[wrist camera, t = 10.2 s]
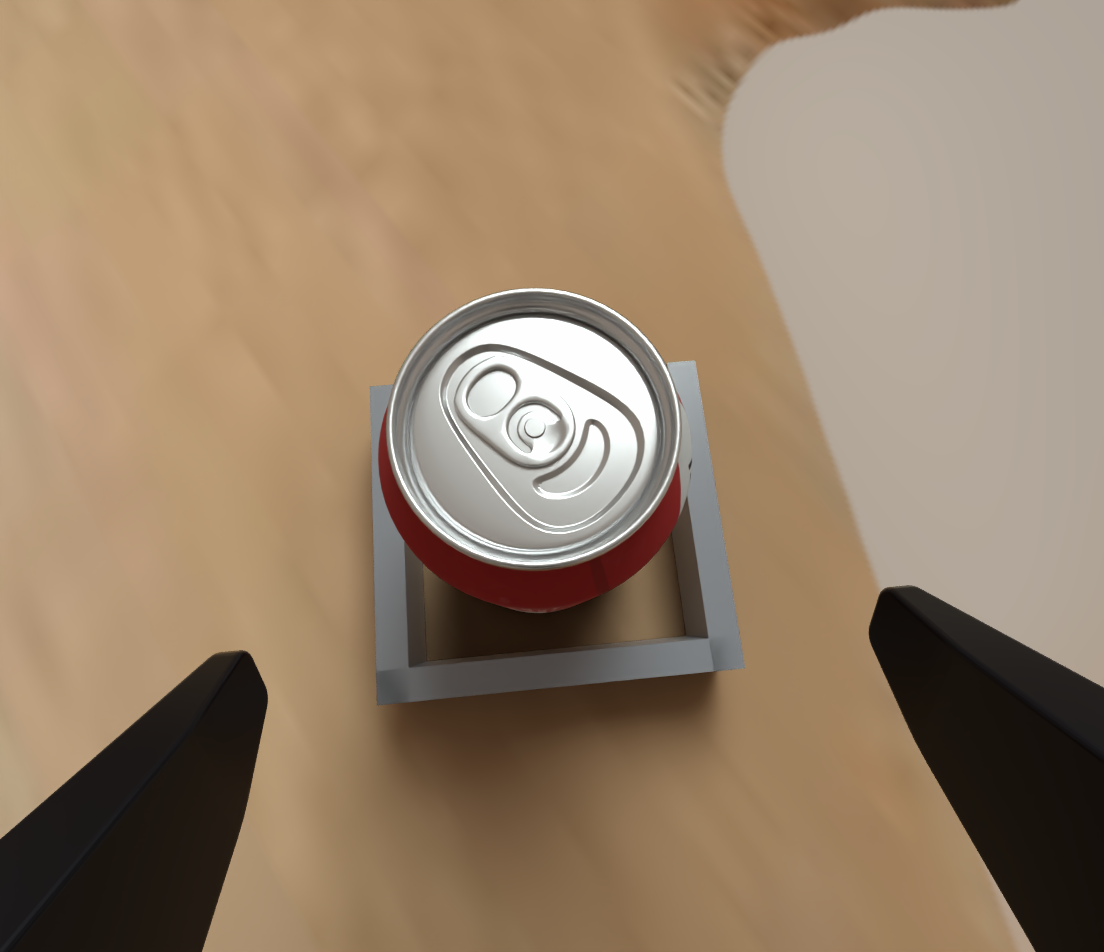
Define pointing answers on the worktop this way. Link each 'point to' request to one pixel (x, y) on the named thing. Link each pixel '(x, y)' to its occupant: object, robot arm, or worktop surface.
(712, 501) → the gray bracket
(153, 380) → the worktop surface
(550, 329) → the soda can
